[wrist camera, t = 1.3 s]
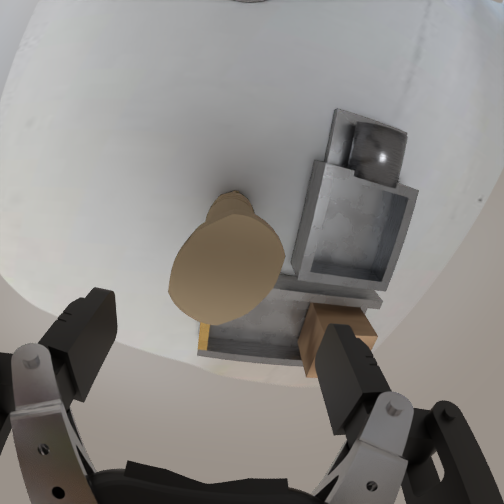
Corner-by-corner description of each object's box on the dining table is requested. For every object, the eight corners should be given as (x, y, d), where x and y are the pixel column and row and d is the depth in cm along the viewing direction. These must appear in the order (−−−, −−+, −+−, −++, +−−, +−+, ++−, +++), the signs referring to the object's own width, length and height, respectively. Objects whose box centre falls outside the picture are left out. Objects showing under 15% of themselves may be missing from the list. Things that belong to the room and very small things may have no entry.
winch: (325, 106, 25) (344, 100, 20) (409, 135, 26) (439, 138, 21) (290, 262, 31) (300, 287, 26) (371, 274, 32) (391, 298, 27)
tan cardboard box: (311, 299, 31) (324, 332, 25) (359, 304, 32) (378, 335, 26) (297, 342, 33) (306, 377, 28) (341, 345, 34) (355, 378, 28)
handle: (272, 197, 28) (304, 258, 14) (230, 244, 30) (222, 338, 16) (235, 165, 27) (227, 194, 13) (193, 214, 28) (150, 289, 14)
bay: (209, 263, 30) (205, 278, 27) (371, 286, 32) (382, 301, 29) (200, 336, 34) (197, 355, 31) (344, 350, 36) (351, 367, 33)
